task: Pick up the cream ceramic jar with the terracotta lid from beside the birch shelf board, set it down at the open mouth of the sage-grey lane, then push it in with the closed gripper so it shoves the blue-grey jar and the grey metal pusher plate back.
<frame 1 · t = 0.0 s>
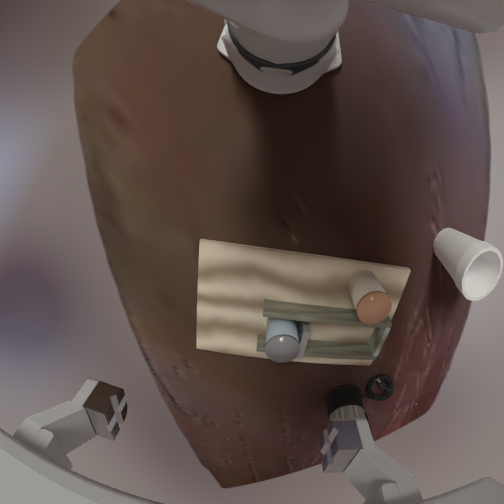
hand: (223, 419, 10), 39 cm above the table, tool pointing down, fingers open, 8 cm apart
lane: (322, 323, 54), on the table
loaded jar: (281, 321, 53), point 1 cm above the table, touching lane
pusher: (301, 334, 51), point 4 cm above the table, slide at 0.0 cm
foam cup: (445, 243, 46), on the table
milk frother: (358, 389, 62), on the table
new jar: (362, 284, 49), point 1 cm above the table, touching lane
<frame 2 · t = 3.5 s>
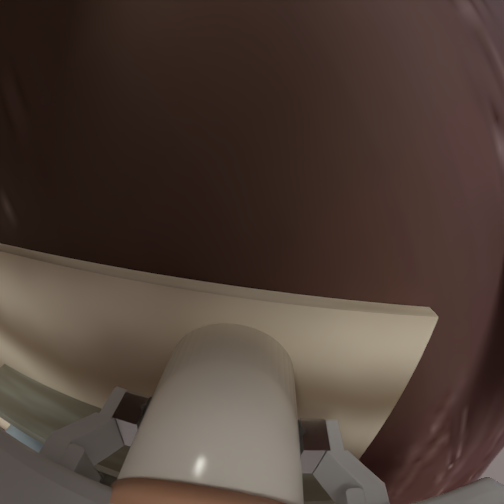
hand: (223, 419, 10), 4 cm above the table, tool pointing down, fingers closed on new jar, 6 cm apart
lane: (153, 446, 16), on the table
loaded jar: (57, 422, 16), point 1 cm above the table, touching lane
pusher: (79, 469, 12), point 4 cm above the table, slide at 0.0 cm
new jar: (231, 374, 12), point 1 cm above the table, touching gripper, lane
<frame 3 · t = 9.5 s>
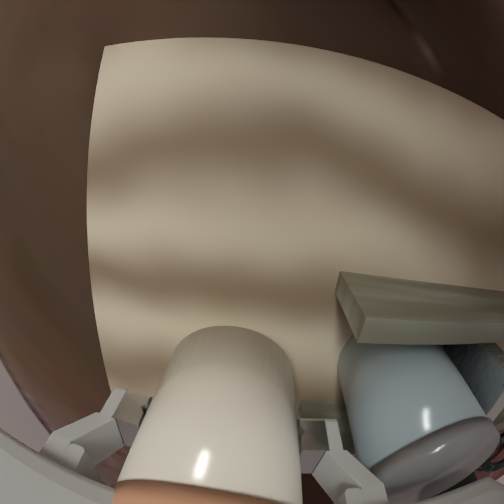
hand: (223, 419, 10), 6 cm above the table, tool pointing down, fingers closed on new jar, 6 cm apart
lane: (473, 345, 15), on the table
loaded jar: (386, 357, 14), point 1 cm above the table, touching gripper, lane
pusher: (458, 390, 11), point 4 cm above the table, slide at 0.0 cm
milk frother: (466, 461, 21), on the table
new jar: (230, 376, 12), point 3 cm above the table, touching gripper
when the fingers open (6 cm above the table, at t = 10.4 s): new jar drops 2 cm, resting on lane.
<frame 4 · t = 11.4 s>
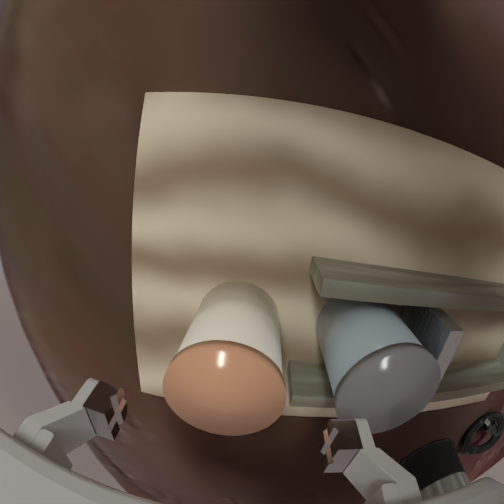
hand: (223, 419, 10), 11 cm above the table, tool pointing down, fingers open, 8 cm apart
lane: (432, 322, 21), on the table
loaded jar: (353, 323, 20), point 1 cm above the table, touching lane
pusher: (418, 350, 17), point 4 cm above the table, slide at 0.6 cm
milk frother: (449, 443, 26), on the table
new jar: (238, 318, 20), point 1 cm above the table, touching lane
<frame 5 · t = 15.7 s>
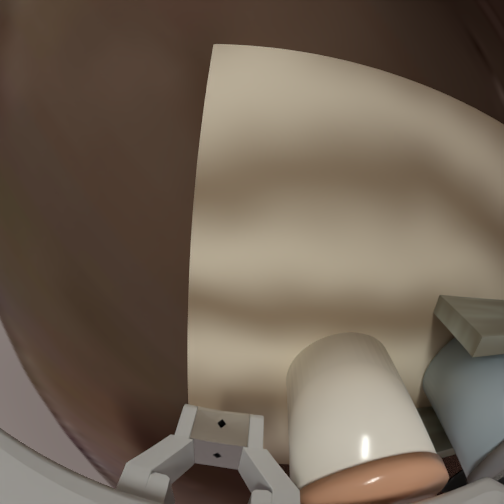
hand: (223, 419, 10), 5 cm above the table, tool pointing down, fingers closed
loaded jar: (459, 364, 13), point 1 cm above the table, touching lane
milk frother: (492, 456, 20), on the table
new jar: (339, 376, 14), point 1 cm above the table, touching gripper, lane
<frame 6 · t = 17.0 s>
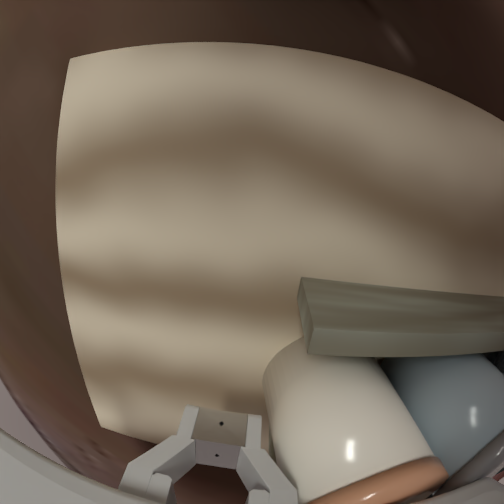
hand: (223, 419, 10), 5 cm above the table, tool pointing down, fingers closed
lane: (459, 353, 14), on the table
loaded jar: (417, 365, 13), point 1 cm above the table, tilted 9°, touching lane, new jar
pusher: (487, 393, 10), point 4 cm above the table, slide at 4.2 cm
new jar: (318, 375, 13), point 1 cm above the table, tilted 9°, touching gripper, loaded jar
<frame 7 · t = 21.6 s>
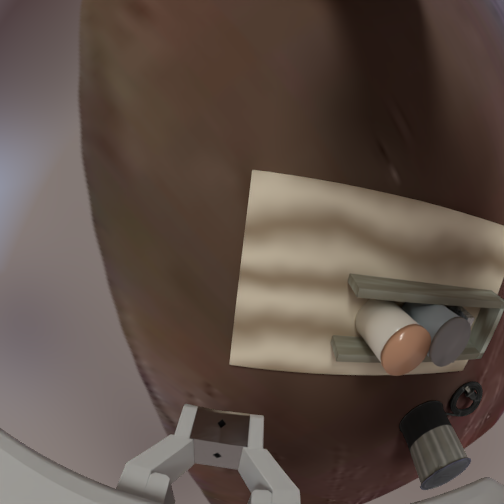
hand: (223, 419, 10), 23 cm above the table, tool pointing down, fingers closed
lane: (419, 312, 33), on the table
loaded jar: (415, 313, 32), point 1 cm above the table, tilted 9°, touching lane, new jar
pusher: (450, 328, 29), point 4 cm above the table, slide at 7.3 cm
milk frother: (439, 405, 40), on the table
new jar: (376, 317, 32), point 1 cm above the table, tilted 7°, touching lane, loaded jar
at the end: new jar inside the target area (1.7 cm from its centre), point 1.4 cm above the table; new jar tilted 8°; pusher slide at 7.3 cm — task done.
